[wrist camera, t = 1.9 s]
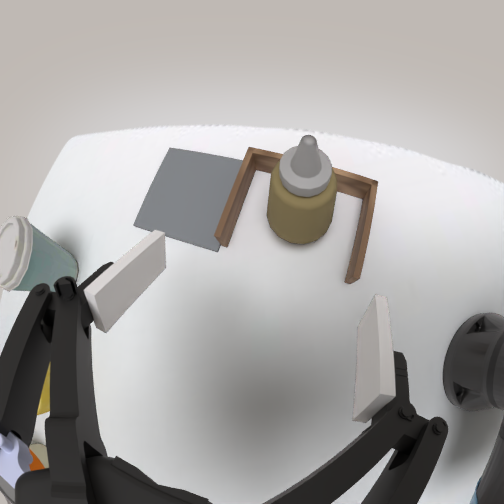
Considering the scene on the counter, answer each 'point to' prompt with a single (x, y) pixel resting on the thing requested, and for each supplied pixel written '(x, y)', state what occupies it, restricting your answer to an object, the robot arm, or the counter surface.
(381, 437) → the robot arm
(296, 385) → the counter surface
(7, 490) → the reusable coffee cup
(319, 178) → the squeeze bottle
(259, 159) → the walnut nook
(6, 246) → the disposable coffee cup
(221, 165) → the slate mat
